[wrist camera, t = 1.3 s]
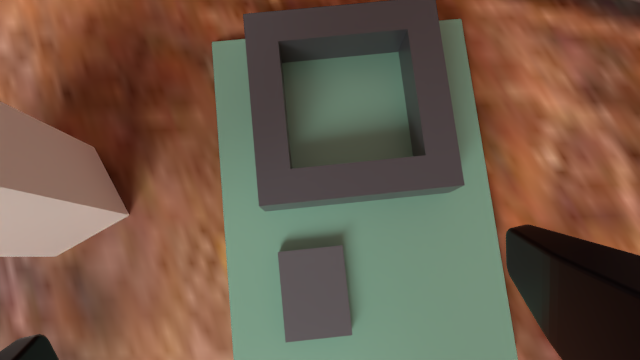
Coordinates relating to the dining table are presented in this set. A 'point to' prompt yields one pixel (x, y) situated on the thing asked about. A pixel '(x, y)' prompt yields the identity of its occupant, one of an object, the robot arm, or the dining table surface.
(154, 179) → the dining table surface
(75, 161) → the two-tone square block
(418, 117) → the circuit board
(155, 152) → the dining table surface
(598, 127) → the dining table surface
